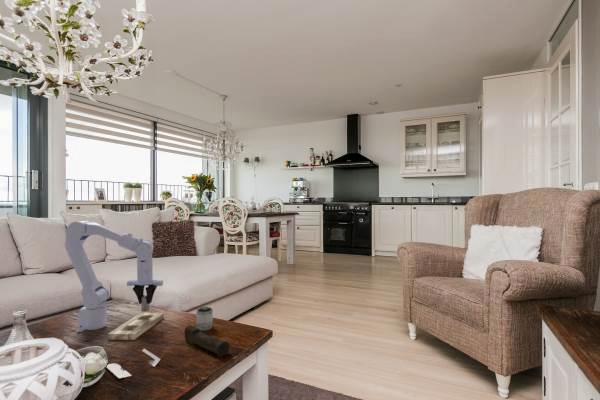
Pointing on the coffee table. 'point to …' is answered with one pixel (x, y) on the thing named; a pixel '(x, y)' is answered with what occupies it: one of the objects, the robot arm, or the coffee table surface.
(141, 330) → the tool board
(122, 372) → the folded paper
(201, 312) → the camera lens
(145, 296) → the grey cylinder
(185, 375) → the coffee table surface
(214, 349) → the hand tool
